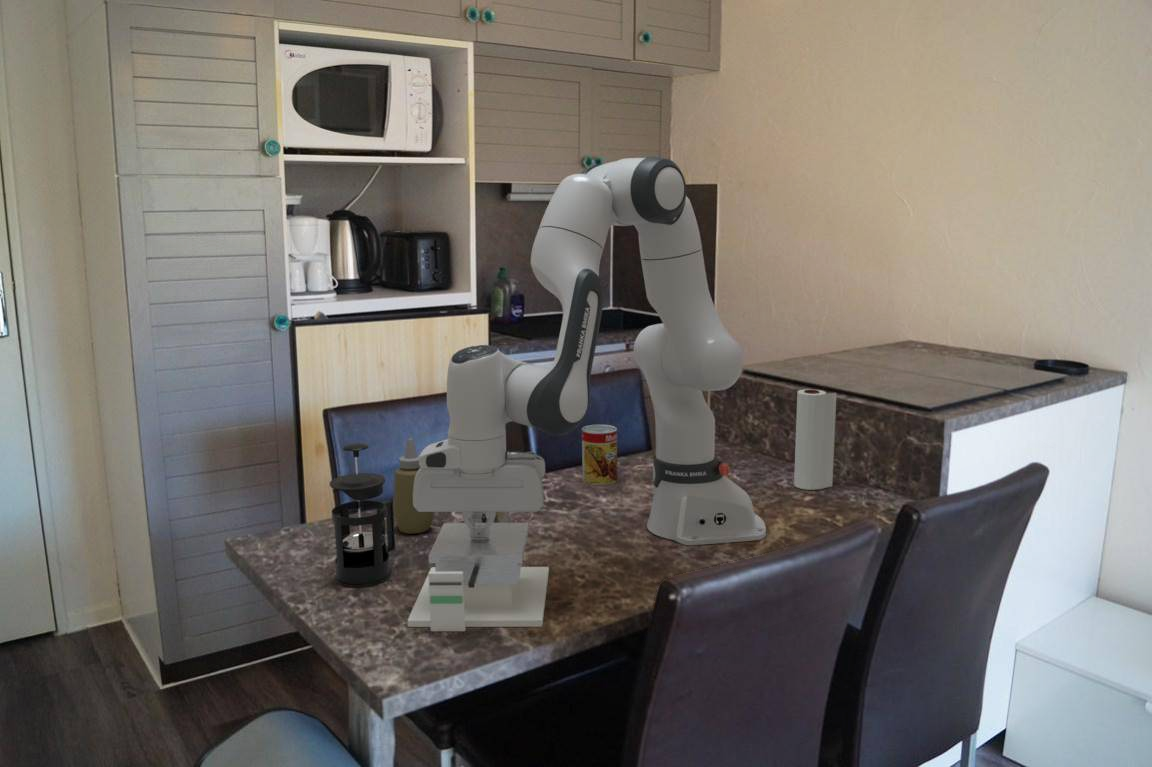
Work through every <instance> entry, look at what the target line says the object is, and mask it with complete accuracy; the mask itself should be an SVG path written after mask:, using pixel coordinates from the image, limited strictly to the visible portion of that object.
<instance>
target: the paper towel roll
mask: <svg viewBox="0 0 1152 767" xmlns="http://www.w3.org/2000/svg"><path fill="white" fill-rule="evenodd" d="M796 392H797V394H796V395H797V397H796V417H795V418H796V423H795V446H794V447H795V448H794V449H795V450H794V472H793V473H794V476H793V485H794V487H795V488H797V489H800V490H807V491H809V490H810V491H811V490H813V491H815V490H822V489H826V488H833V481H834V480H833V479H834V478H833V476H834V458H835V457H834V455H835V454H834V453H835V436H836V435H835V434H836V430H835V429H836V411H837V395H838V394H837V392H832V393H831V392H830V393H827V392H826V391H824V390H820V389H812V388H811V389H810V388H809V389H807V388H806V389H799V390H797V391H796Z"/></svg>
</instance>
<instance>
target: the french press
mask: <svg viewBox="0 0 1152 767" xmlns="http://www.w3.org/2000/svg"><path fill="white" fill-rule="evenodd" d="M368 448H369V444H367V443H360V442H357V443H350V444H346V445H344V446H342V450H343V451H345V452H346V451H347V452H352V456H353V458H354V461H355V462H354V464H355V473H350V474H344V475H341V476H338V477H335V478H333V479H331V481H329V486H330V488H331V489H332V494H336V493H338V492H340V491H341V492H342V493H344V494H345V495H346V496H348V497H349V498H350V499H353V500H352V501H348V502H344V503H341V504H338V505H336V506H334V507H333V508H332V509H331V521H332V522H333V523H334V533H335V546H336V547H335V548H336V549H335V550H336V557H335V558H334V564H335V565H334V566H335V567H334V568H335V569H334V570H335V575H334V581H335V583H336V584H338V585H339V586H341V587H344V588H352V589H357V588H358V589H360V588H361V589H362V588H369V587H374V586H377V585H380V584H382V583H385V582H386V581H388V580H389V579H390V578H391V576H392V574H393V573H392V572H393V571H392V569H391V562H390V561H391V559H390V553H391V552H393V551H395V550H396V536H395V534H396V533H395V518H394V515H393V501H391V500H387V499H385V500H381V501H377V500H371V499H374V498H377V497H379V496H381V495H382V494H383V493H384V484H385V483H386V477H385V476H384V475H381V474H378V473H373V472H372V473H371V472H359V464H358V463H359V462H358V458H359V457H360V451H363V450H367V449H368ZM361 509H376V513H375V514H371V515H367V516H362V512H361ZM349 510H358V512H357V513H358V517H350V513H349V512H350V511H349ZM338 514H339V515H338ZM365 525H371V531H363V530H362V529H363V528H362V526H365ZM350 526H351V527H353V526H356V527H358V528H359V531H358V532H353V533H351V529H350V528H351V527H350Z"/></svg>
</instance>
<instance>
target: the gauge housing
mask: <svg viewBox="0 0 1152 767" xmlns="http://www.w3.org/2000/svg"><path fill="white" fill-rule="evenodd" d="M549 575H550V567H549V566H522V567H521V572H520V577H519V582H518V584H511V585H475V586H474V588H468V585H464V574H463V571H452V572H436V568H435V566H434V567H433V566H432V567H430V570H429V571H428V574H427V576H426V578H425V580H424V583H423V585H422V588H421V590H420V592H419V594H418V596H417V598H416V601H415V603H414V604H413V607H412V609H411V612H410V614H409V616H408V619H407V628H430V632H466V628H468V627H469V628H481V627H483V628H489V627H490V628H501V627H502V628H510V627H511V628H515V627H518V628H524V627H525V628H526V627H527V628H537V627H539V628H541V627H543V623H544V617H545V616H544V615H545V607H546V599H547V598H546V597H547V590H548V583H549Z"/></svg>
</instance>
